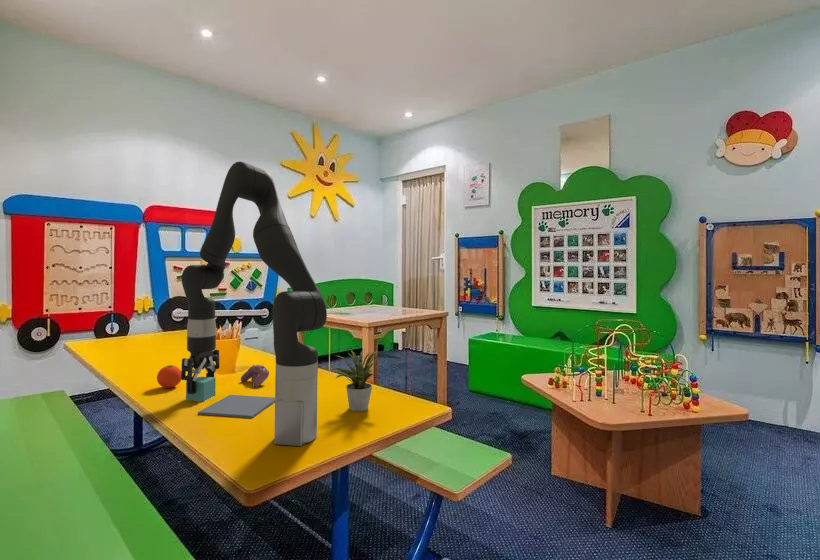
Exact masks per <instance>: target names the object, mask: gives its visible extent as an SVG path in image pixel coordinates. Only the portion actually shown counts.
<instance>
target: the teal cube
mask: <svg viewBox="0 0 820 560" xmlns="http://www.w3.org/2000/svg"><path fill="white" fill-rule="evenodd" d="M195 381H196V393H195V394H188V393H187V381H186V380H185V401H188V400H191V401H192V400H193V401H192V402H205V400H206V401H208V400H209V398H210V399H212V398H214V397H216V382H217V381H216V377H215V376H214V377H206V376H197V378H196V380H195ZM213 396H214V397H213ZM211 397H212V398H211ZM207 399H208V400H207ZM191 401H190V402H191Z"/></svg>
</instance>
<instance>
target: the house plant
mask: <svg viewBox="0 0 820 560" xmlns="http://www.w3.org/2000/svg"><path fill="white" fill-rule="evenodd" d="M350 352H351V354H350V353H349V352H347V353H348V355H349V356H350V358H351V359H352V361H353V364H354V366H355V367H354V366H353V364H352V363H351V362H350V361H349V360H348V359H347V358H345V357H343V356H339V355H337V357H339V358H338V360H339V361H342V362H344V364H346V365H347V366H348V367H349V368H350V369H347V368H342V367H338V366H331V368H332V369H336V370H337V371H338V372H339V373H341V374H337V376H336V377H335V379H338V378H340V377H345V378H346V379H348V380H349V381H350V383H348V384H346V386H345V387H346V388H345V389H346V394H347V401H348V407H349V409H348V410H350V411H352V412H365V411H367V410H368V409H369V404H370V399H371V394H372V388H373V385H372V384H371V383H368V382H367V381H368V380H369V378H371V377H372V376H375V375H376V373H371V372H375V371H374V369H371V368H372V366H373V365H374V364H375V363H376V362H377V359H375V357H376V353H378V352H379V350H377V351H373V352H368V353H367V354H366V355H365V357H364V359H363V351H362V350H361V351H360V354H359V355H356V353H355V352H354V351H353V350H350ZM333 356H335V357H336V355H335V354H334V355H333ZM357 358H358V359H357ZM373 360H374V361H373ZM336 370H334V371H336ZM378 375H379V376H381V374H380V373H378Z"/></svg>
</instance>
